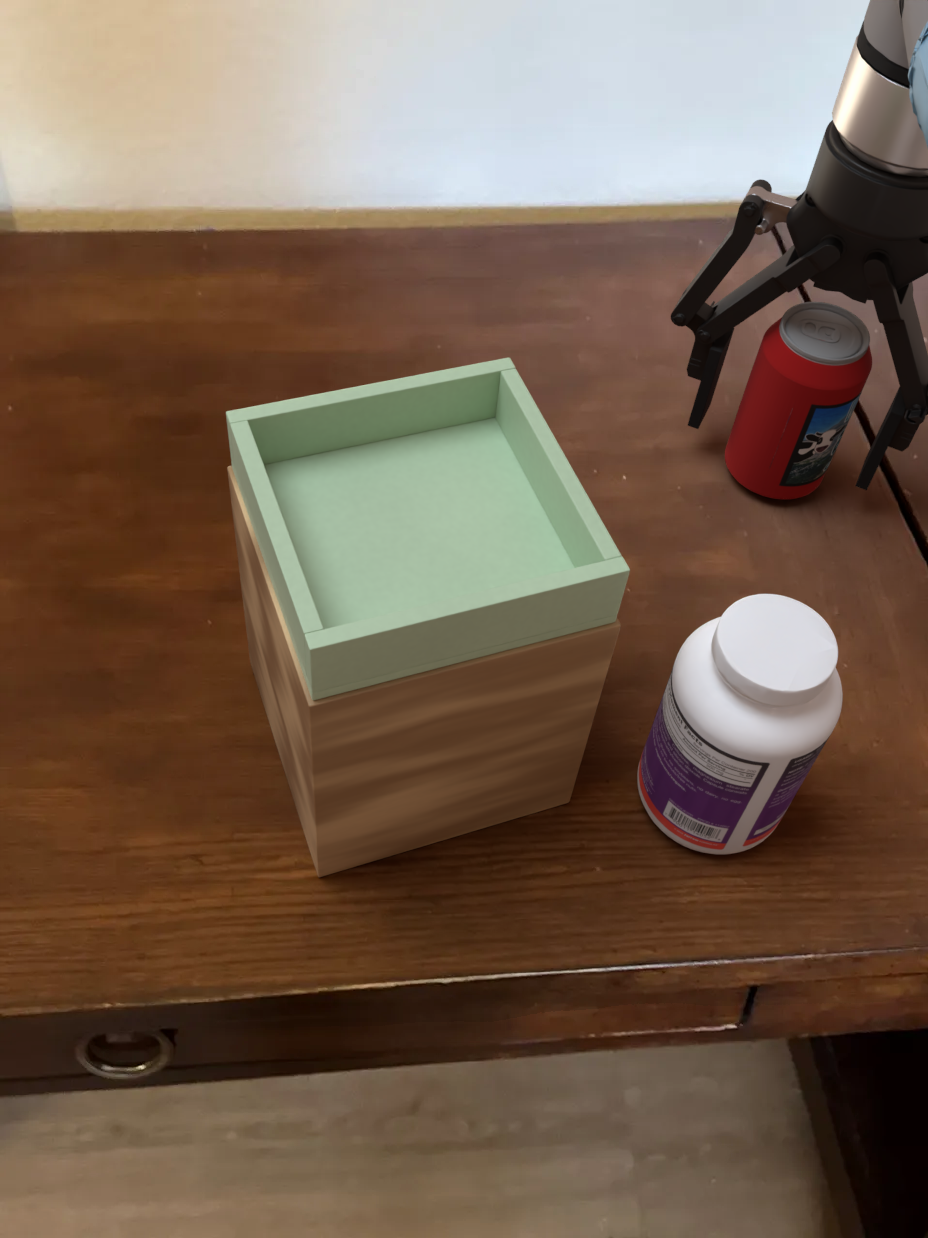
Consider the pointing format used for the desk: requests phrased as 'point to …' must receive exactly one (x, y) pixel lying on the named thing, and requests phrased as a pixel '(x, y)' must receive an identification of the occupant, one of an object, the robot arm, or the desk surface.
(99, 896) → the desk surface
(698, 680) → the pill bottle
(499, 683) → the stand
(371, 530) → the tub
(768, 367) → the beverage can
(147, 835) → the desk surface
